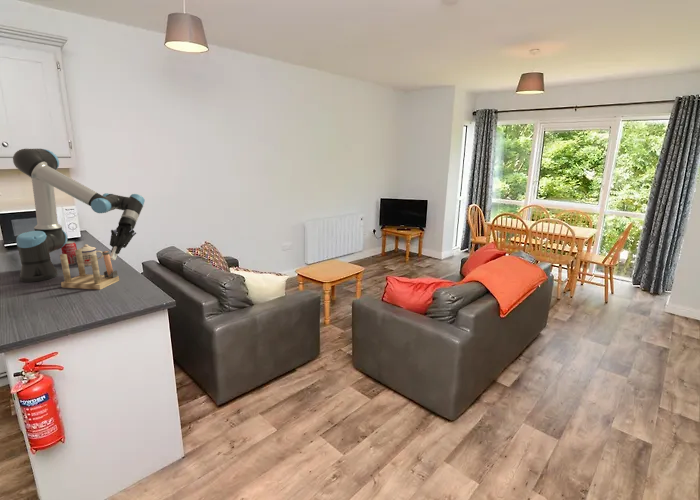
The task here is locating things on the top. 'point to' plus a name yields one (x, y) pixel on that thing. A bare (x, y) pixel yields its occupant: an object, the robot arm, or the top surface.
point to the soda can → (70, 252)
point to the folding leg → (108, 263)
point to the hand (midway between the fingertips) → (112, 258)
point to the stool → (86, 279)
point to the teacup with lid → (89, 254)
